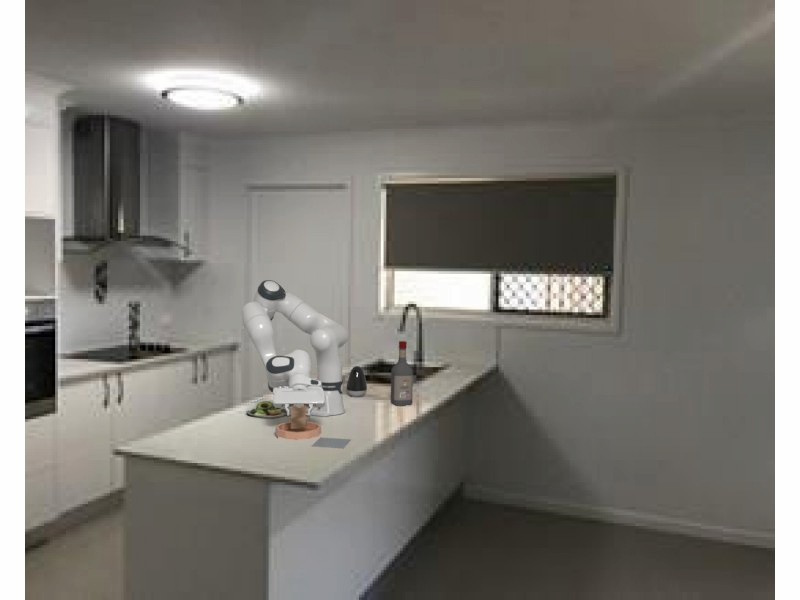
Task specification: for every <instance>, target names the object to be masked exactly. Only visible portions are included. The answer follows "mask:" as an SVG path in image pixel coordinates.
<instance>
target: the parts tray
mask: <svg viewBox="0 0 800 600" xmlns="http://www.w3.org/2000/svg"><path fill="white" fill-rule="evenodd" d="M351 441H352V439H351V438H350V439H349V438H333V437H319V438H318V439H317V440H316V441H315V442H314V443H313V444H312V445H311V447H313V448H315V447H318V448H331V449H345V448H346V446H347V445H348V444H349V443H350V442H351Z"/></svg>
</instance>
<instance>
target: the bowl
mask: <svg viewBox="0 0 800 600" xmlns="http://www.w3.org/2000/svg"><path fill="white" fill-rule="evenodd" d="M274 432H275V437H276V438H277V439H279V438H281V439H285V440H286V439H288V440H305V439H312V438H315V437H319V436H320V435H321V434H322V425H320V423H317V422H312V421H306V429H291V421H286V422H282V423H279V424H278V425H276V426H275V431H274Z"/></svg>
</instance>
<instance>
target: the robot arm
mask: <svg viewBox="0 0 800 600" xmlns="http://www.w3.org/2000/svg"><path fill="white" fill-rule="evenodd" d="M240 311H241V312H240V313H241V319H242V322H243V326H244V328H245V331H246V333H247V335H248V337H249V338H250V340H251V342H252V344H253V345H254V347H255V348H256V350H257V353H258V354H259V356H260V358H261V361H262V363H263V365H264V368H265V370H266V377H267V388H268V390H269V392H271V393H272V395H273V396H272V397H273V399H272V403H273V406H274V407H275V408H282V409H285V410H286V412H287V415H286V416H287V418H288V417H289V418H291V410H290V409H291V406H292V405H294V404H295V403H298V404H299V403H303V404H304V405H306V418H309V417H310V416H316V417H329V416H336V415H341V414H344V413H346V409H345V405H344V401H343V399H344V397H343V394H344V393H343V392H344V380H343V363H342V361H341V358H340V355H339V349H340V348H342V347H343V346H344V345H346V343H348V341H349V339H350V332H349V329H348V328H347V327H346V326H344V325H342V324H340V323H338V322H336V321H334V320H333V319H331V318H329V317H327V316H325V315H323V314H322V313H320V312H319V311H317V310H316V309H315V308H313V307H312V306H311V305H310V304H309V303H307V302H306V301H304V300H303V299H302V298H300V297H299V296H297V295H295V294H293V293H292V292H289V291H288V292H286V291H285V289H284V287H282V286H281V285H280V284H279V283H278V282H277V281H274V280H269V279H268V280H263V281H262V282H260V284H259V286H258V287H257V290H256V293H255V295H254V297H253V301H249V302H247V303H246V304H244V305H243V307H242V308H241V310H240ZM276 313H280V314H281V315H283V316H284V318H286V319H287V320H288V321H289V322H290V323H292V324H293V326H294V325H295V327H296V328H298V329H299V330H300V331H302V332H303V333H306V334H308V335H310V338H309V341H310V342H309V343H310V345H311V347H312V348H313V350H314V355H315V357H316V358H315V359H316V364H317V367H316V370H317V371H316V372H317V373H316V375H317V377H316V379H315V378H311V374H312V360H311V359H312V358H311V356H310V354H309V353H308V352H307V351H305V350H303V349H294V350H293V351H291V352H290V353H287V354H285V355H277V352H276V347H275V332H274V327H273V323H272V320H273V319H274V317H275V314H276Z"/></svg>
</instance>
